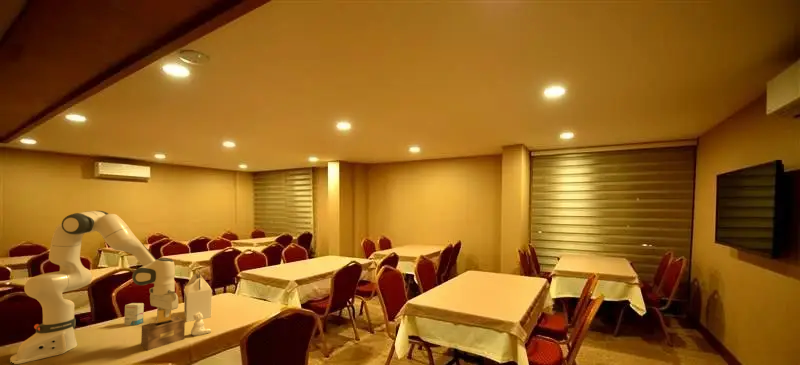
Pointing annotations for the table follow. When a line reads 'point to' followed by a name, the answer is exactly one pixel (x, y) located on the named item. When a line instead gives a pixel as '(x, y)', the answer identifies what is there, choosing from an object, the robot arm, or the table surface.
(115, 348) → the table surface
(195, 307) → the gable box
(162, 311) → the token
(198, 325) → the sitting furry creature
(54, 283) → the robot arm
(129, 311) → the ink box
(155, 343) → the coin box
